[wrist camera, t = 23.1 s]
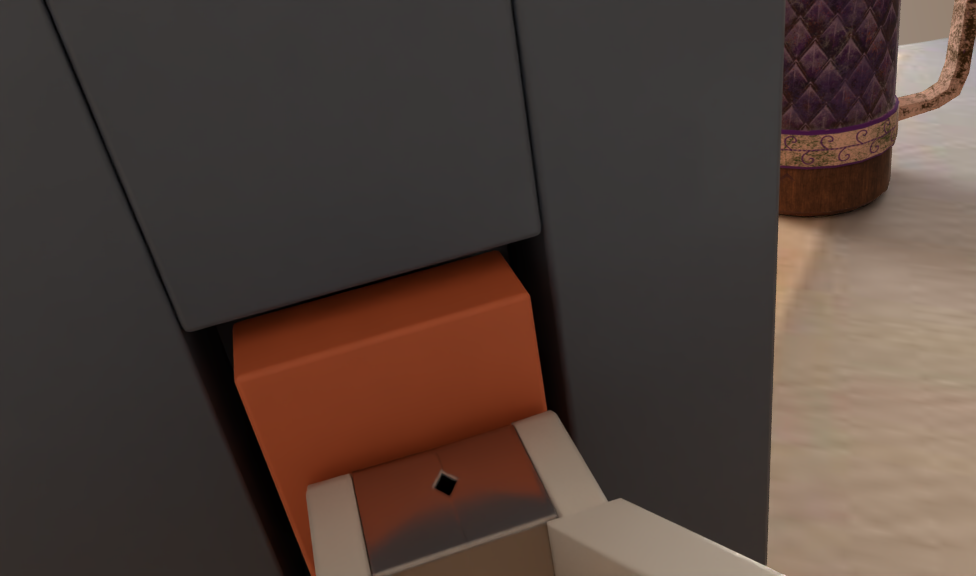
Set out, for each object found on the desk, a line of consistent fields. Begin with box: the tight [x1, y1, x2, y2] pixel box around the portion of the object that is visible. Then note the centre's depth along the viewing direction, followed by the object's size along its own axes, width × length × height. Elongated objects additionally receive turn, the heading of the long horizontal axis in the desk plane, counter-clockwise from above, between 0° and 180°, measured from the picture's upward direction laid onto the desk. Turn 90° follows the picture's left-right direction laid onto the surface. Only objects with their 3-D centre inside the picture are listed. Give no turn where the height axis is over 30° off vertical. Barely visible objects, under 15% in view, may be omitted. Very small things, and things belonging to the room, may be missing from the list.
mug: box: [779, 0, 976, 216], centre depth 35 cm, size 10×7×12 cm
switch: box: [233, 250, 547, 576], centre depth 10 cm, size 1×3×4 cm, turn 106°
